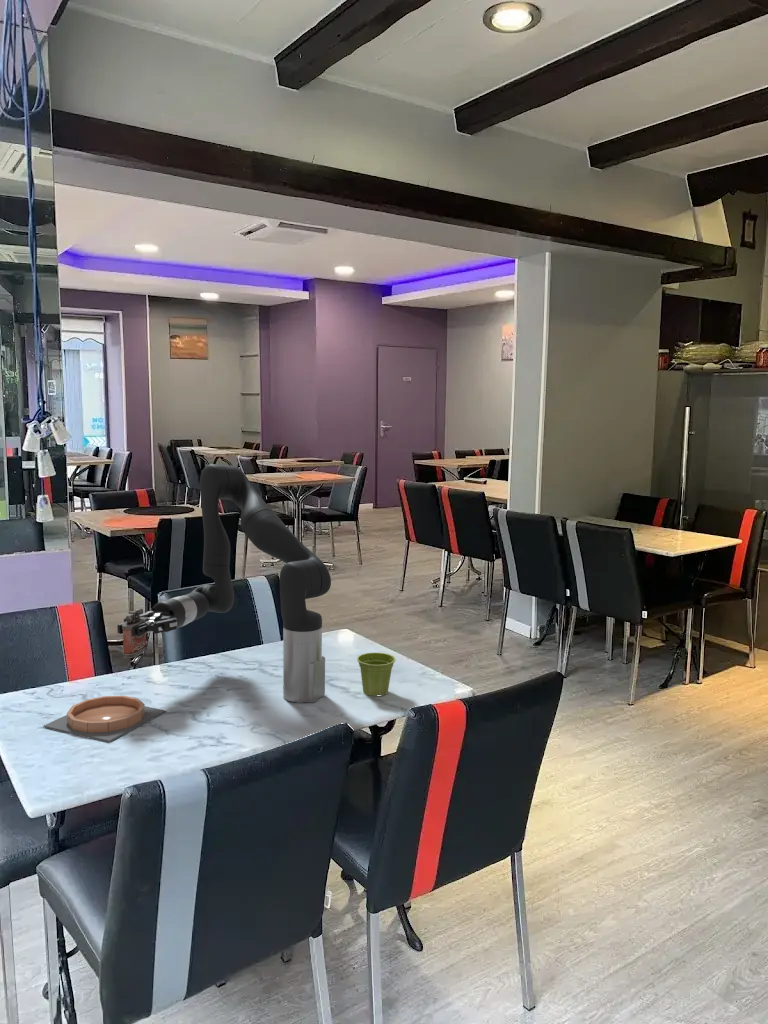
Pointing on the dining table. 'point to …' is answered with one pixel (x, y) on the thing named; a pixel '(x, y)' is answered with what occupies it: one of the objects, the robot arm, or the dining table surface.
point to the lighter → (133, 643)
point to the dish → (105, 714)
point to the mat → (105, 736)
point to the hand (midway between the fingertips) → (126, 630)
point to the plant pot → (375, 672)
